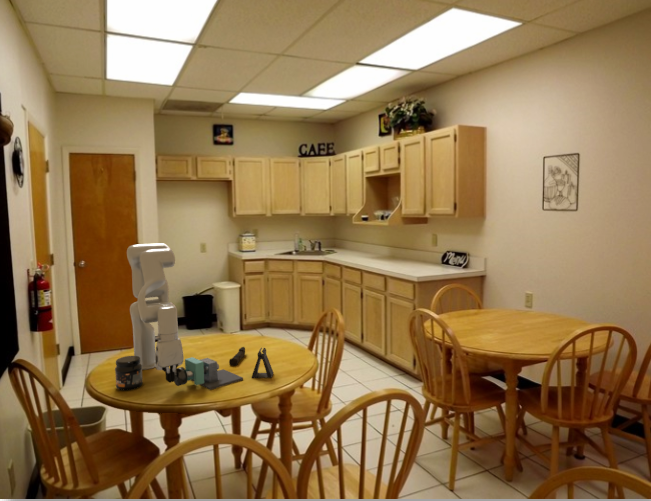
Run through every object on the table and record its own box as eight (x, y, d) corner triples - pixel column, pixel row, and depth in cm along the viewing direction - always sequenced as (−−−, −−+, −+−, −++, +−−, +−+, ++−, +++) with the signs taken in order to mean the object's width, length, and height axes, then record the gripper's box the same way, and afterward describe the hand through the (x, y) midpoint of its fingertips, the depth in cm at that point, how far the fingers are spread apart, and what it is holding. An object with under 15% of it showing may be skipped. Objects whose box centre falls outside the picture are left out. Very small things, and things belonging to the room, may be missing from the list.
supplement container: (111, 387, 197) (110, 359, 196) (135, 380, 205) (134, 353, 204) (123, 393, 190) (121, 364, 189) (147, 386, 198) (146, 358, 197)
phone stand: (251, 378, 205) (250, 351, 204) (253, 373, 211) (253, 347, 210) (271, 378, 205) (271, 351, 204) (273, 373, 211) (273, 347, 210)
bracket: (199, 379, 202) (199, 359, 202) (208, 376, 205) (207, 357, 205) (209, 383, 197) (208, 364, 196) (217, 381, 199) (217, 361, 199)
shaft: (173, 383, 193) (172, 367, 193) (213, 372, 206) (213, 356, 206) (180, 387, 188) (180, 371, 188) (222, 376, 201) (221, 360, 201)
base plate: (191, 380, 204) (191, 378, 204) (223, 371, 215) (223, 369, 215) (210, 389, 193) (210, 387, 192) (243, 379, 204) (242, 377, 203)
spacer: (185, 379, 199) (184, 359, 198) (193, 377, 201) (192, 357, 200) (196, 385, 192) (195, 363, 191) (204, 383, 194) (203, 361, 194)
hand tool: (237, 366, 222) (236, 357, 222) (229, 366, 223) (228, 356, 222) (249, 354, 241) (249, 346, 240) (242, 354, 241) (242, 345, 241)
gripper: (153, 342, 180) (156, 388, 181) (190, 334, 190) (191, 379, 191) (146, 338, 185) (148, 383, 186) (181, 331, 195) (183, 374, 197)
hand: (170, 381), depth 189 cm, fingers closed
